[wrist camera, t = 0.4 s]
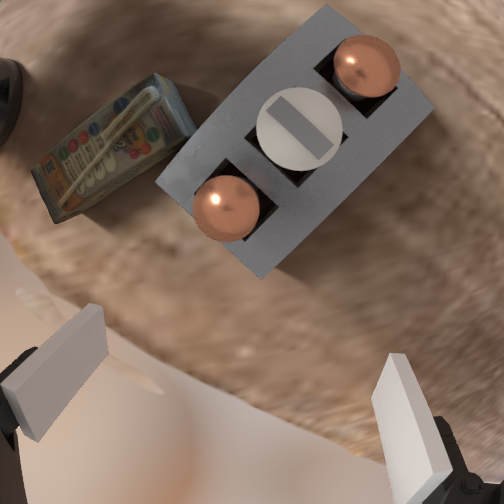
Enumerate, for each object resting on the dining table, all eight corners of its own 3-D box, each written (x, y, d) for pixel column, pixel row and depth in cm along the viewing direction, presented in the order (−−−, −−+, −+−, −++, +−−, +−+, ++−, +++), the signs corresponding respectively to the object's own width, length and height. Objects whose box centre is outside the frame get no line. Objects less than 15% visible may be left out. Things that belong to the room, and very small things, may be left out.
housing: (172, 177, 34) (154, 181, 30) (322, 22, 27) (326, 3, 22) (265, 262, 36) (261, 280, 31) (416, 112, 29) (435, 107, 24)
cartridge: (260, 139, 32) (234, 129, 17) (294, 105, 31) (297, 65, 15) (296, 172, 33) (301, 191, 18) (330, 138, 31) (364, 128, 16)
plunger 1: (202, 198, 32) (179, 211, 25) (237, 159, 30) (222, 161, 24) (240, 233, 32) (227, 255, 26) (276, 196, 31) (273, 208, 24)
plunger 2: (314, 80, 27) (320, 61, 20) (349, 47, 25) (364, 23, 19) (354, 118, 28) (371, 109, 21) (388, 84, 26) (412, 69, 20)
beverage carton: (205, 139, 33) (186, 138, 27) (81, 216, 38) (50, 229, 31) (175, 79, 31) (151, 67, 25) (57, 164, 36) (24, 170, 30)
